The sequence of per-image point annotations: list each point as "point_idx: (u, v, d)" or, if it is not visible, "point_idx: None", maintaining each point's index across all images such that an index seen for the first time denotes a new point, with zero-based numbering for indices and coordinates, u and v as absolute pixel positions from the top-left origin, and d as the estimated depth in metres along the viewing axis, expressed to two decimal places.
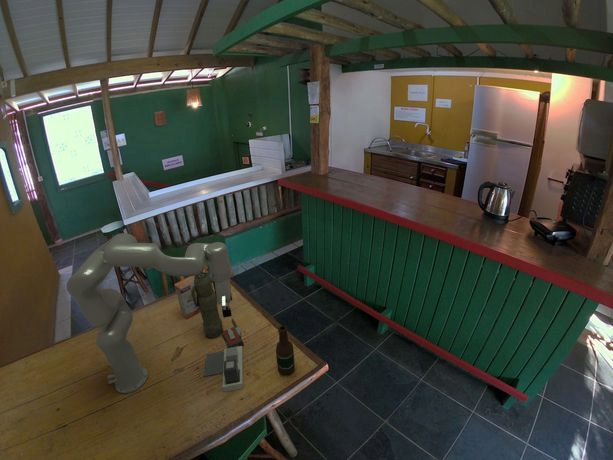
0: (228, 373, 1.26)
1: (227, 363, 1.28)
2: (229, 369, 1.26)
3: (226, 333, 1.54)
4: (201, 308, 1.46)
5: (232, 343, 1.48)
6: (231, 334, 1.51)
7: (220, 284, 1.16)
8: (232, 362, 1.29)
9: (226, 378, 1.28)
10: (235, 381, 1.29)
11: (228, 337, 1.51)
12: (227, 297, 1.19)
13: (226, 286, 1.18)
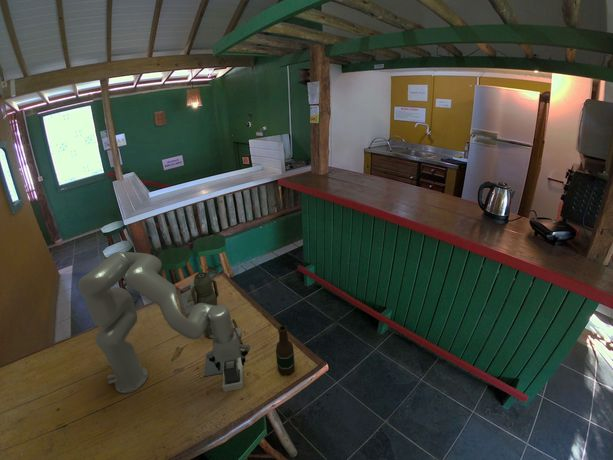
0: (228, 373, 1.26)
1: (227, 363, 1.28)
2: (229, 369, 1.26)
3: None
4: None
5: None
6: None
7: (236, 336, 1.21)
8: (232, 362, 1.29)
9: (226, 378, 1.28)
10: (235, 381, 1.29)
11: None
12: (240, 344, 1.26)
13: None
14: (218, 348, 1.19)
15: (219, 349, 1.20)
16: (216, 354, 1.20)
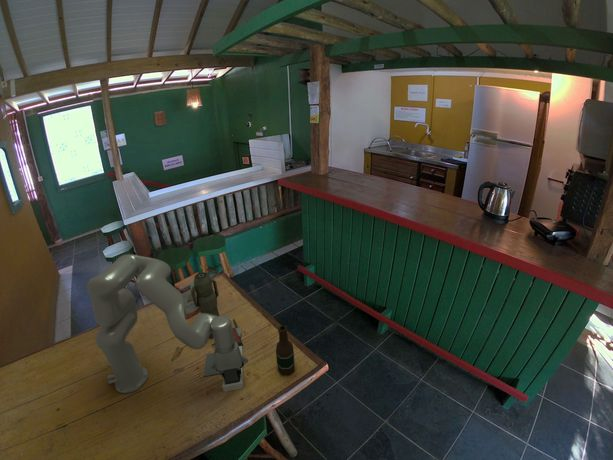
0: (228, 373, 1.26)
1: None
2: (229, 369, 1.26)
3: None
4: (201, 308, 1.46)
5: None
6: None
7: (238, 346, 1.24)
8: None
9: (226, 378, 1.28)
10: (235, 381, 1.29)
11: None
12: None
13: (237, 345, 1.26)
14: (220, 358, 1.22)
15: (221, 359, 1.22)
16: (217, 363, 1.23)
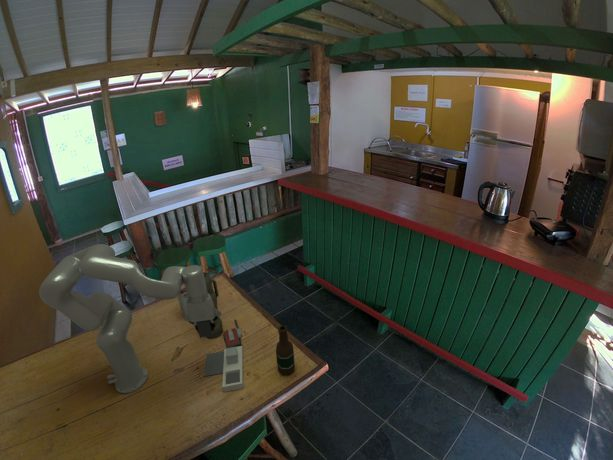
0: (201, 325, 1.27)
1: None
2: (202, 321, 1.27)
3: (226, 334, 1.53)
4: None
5: (230, 345, 1.47)
6: (231, 335, 1.51)
7: (210, 297, 1.24)
8: None
9: (199, 330, 1.28)
10: (208, 334, 1.30)
11: (228, 338, 1.51)
12: (214, 306, 1.29)
13: None
14: (192, 308, 1.22)
15: (193, 309, 1.22)
16: (190, 314, 1.23)
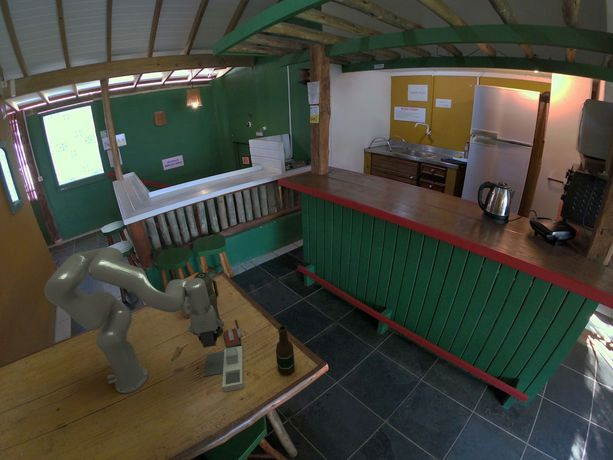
0: (204, 336, 1.30)
1: None
2: (205, 332, 1.29)
3: (226, 334, 1.53)
4: None
5: (230, 345, 1.47)
6: (231, 335, 1.51)
7: (213, 309, 1.27)
8: None
9: (203, 341, 1.31)
10: (212, 344, 1.33)
11: (227, 338, 1.51)
12: None
13: (213, 308, 1.29)
14: (195, 319, 1.25)
15: (196, 321, 1.25)
16: (193, 325, 1.26)
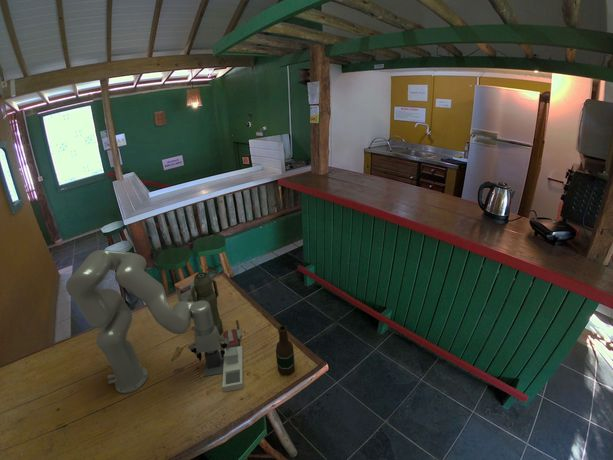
0: (209, 357, 1.35)
1: None
2: (210, 354, 1.35)
3: (226, 334, 1.53)
4: None
5: (229, 346, 1.47)
6: (230, 336, 1.50)
7: (216, 329, 1.32)
8: None
9: (207, 362, 1.37)
10: (216, 365, 1.38)
11: None
12: (220, 337, 1.36)
13: (217, 329, 1.34)
14: (199, 340, 1.30)
15: (200, 341, 1.30)
16: (197, 345, 1.31)
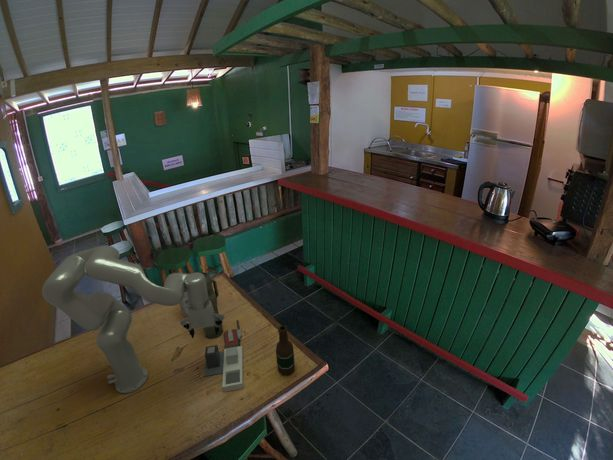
0: (209, 357, 1.35)
1: (208, 348, 1.37)
2: (210, 354, 1.35)
3: (226, 334, 1.53)
4: None
5: (229, 345, 1.47)
6: (230, 336, 1.50)
7: (211, 304, 1.26)
8: (213, 348, 1.38)
9: (207, 362, 1.37)
10: (216, 365, 1.38)
11: (227, 338, 1.50)
12: (214, 313, 1.30)
13: (211, 304, 1.28)
14: (193, 314, 1.24)
15: (194, 316, 1.24)
16: (190, 320, 1.25)
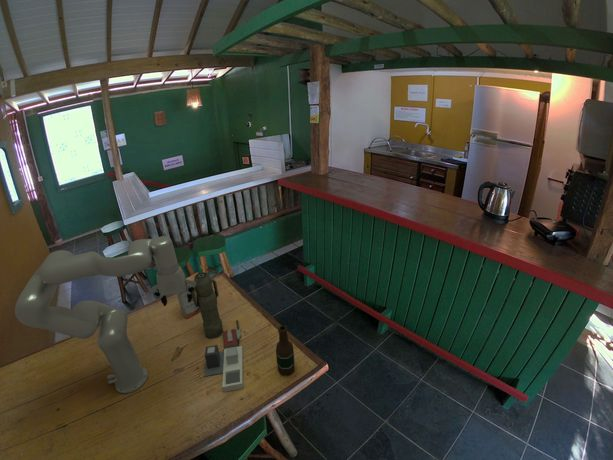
0: (209, 357, 1.35)
1: (208, 348, 1.37)
2: (210, 354, 1.35)
3: (226, 334, 1.53)
4: (201, 308, 1.46)
5: (228, 346, 1.46)
6: (229, 336, 1.50)
7: (181, 270, 1.22)
8: (213, 348, 1.38)
9: (207, 362, 1.37)
10: (216, 365, 1.38)
11: (226, 339, 1.50)
12: (186, 280, 1.26)
13: (182, 270, 1.24)
14: (162, 280, 1.20)
15: (163, 281, 1.20)
16: (160, 287, 1.21)
